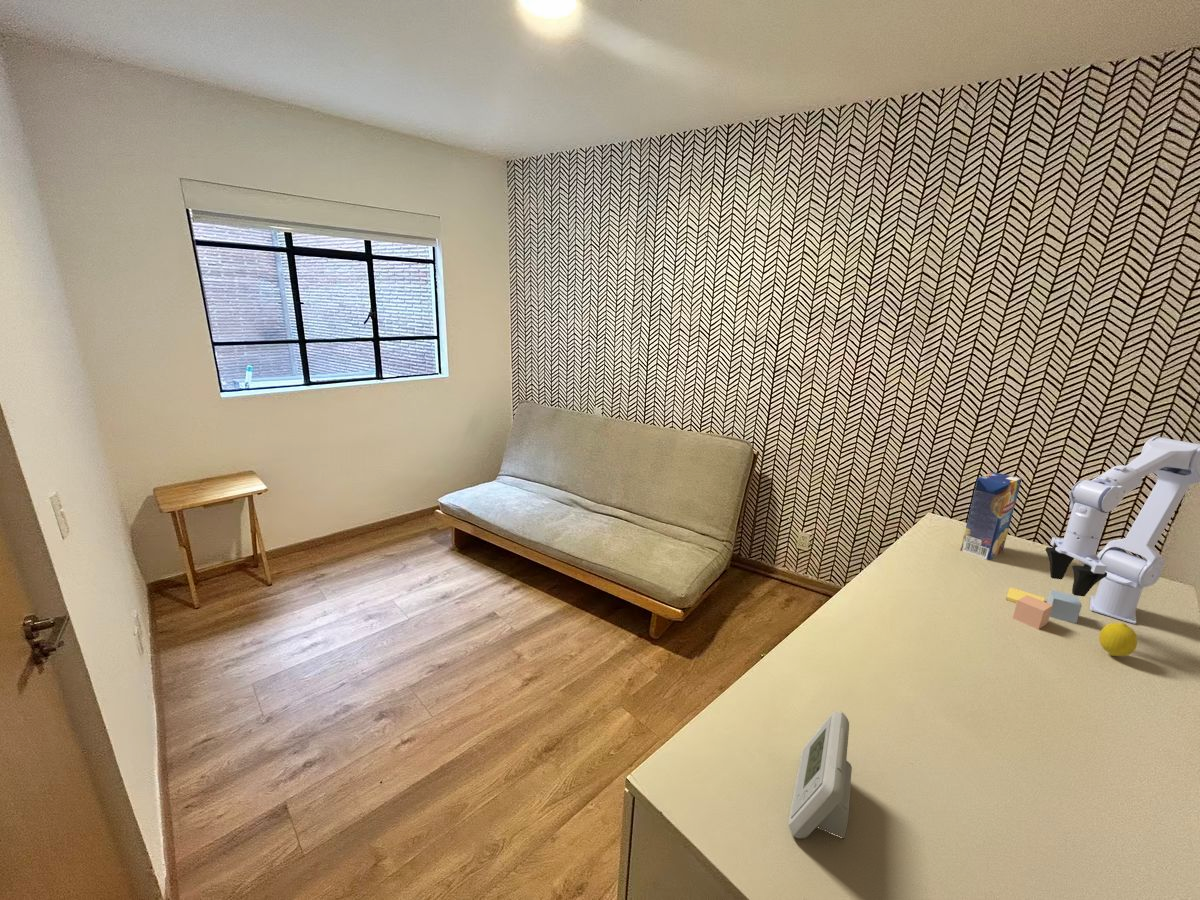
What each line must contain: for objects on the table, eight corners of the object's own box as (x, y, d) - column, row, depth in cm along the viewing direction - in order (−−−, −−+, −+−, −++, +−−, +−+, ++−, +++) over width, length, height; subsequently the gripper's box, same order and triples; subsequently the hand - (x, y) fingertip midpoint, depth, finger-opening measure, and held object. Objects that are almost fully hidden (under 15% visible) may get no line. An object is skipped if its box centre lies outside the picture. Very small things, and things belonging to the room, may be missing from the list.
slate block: (1045, 607, 125) (1050, 589, 124) (1072, 614, 122) (1077, 596, 121) (1048, 616, 121) (1053, 598, 120) (1075, 623, 118) (1081, 605, 117)
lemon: (1138, 666, 104) (1150, 633, 102) (1107, 662, 105) (1118, 629, 103) (1117, 649, 109) (1128, 617, 107) (1087, 645, 110) (1098, 614, 108)
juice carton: (988, 560, 149) (1008, 485, 142) (960, 550, 154) (977, 477, 148) (1002, 550, 155) (1022, 478, 149) (975, 541, 161) (992, 471, 155)
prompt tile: (1009, 589, 132) (1010, 587, 132) (1043, 600, 128) (1044, 597, 127) (1005, 599, 128) (1006, 596, 127) (1041, 611, 123) (1042, 608, 123)
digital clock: (805, 749, 81) (814, 695, 78) (865, 782, 76) (877, 726, 73) (765, 822, 69) (774, 761, 67) (833, 868, 64) (846, 804, 61)
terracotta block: (1021, 612, 122) (1027, 595, 121) (1047, 623, 118) (1052, 605, 117) (1012, 618, 120) (1017, 600, 118) (1038, 629, 115) (1043, 610, 114)
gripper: (1042, 518, 120) (1028, 569, 123) (1085, 544, 106) (1068, 600, 110) (1076, 521, 118) (1061, 573, 122) (1124, 548, 105) (1105, 605, 108)
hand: (1066, 586), depth 116 cm, fingers open, 7 cm apart
